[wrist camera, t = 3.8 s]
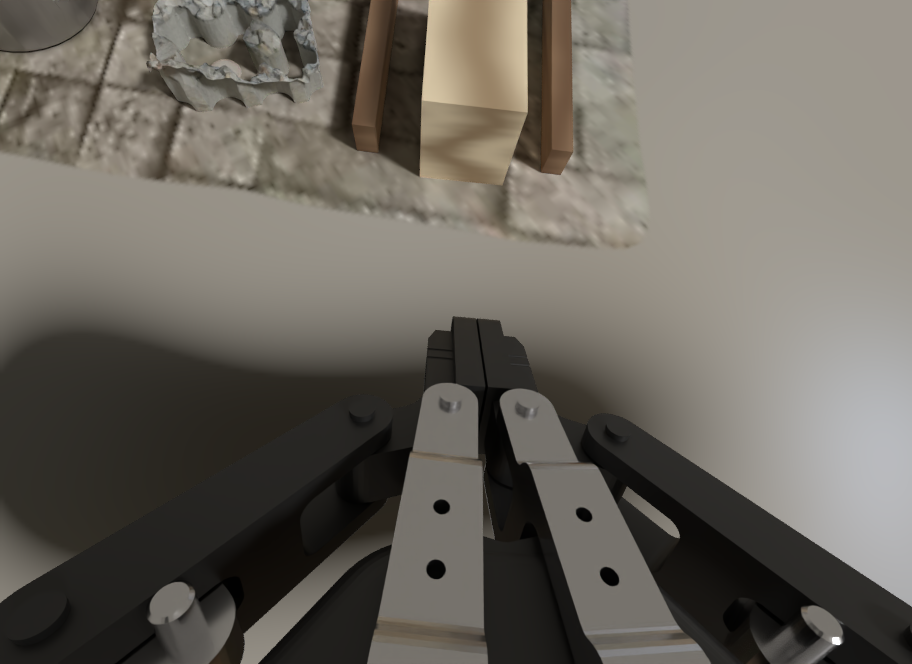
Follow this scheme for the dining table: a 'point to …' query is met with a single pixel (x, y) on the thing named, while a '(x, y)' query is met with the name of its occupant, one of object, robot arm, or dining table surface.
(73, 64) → the dining table surface
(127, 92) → the dining table surface
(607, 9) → the dining table surface
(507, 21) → the maple block
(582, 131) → the dining table surface
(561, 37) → the wooden tray frame
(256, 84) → the egg carton
